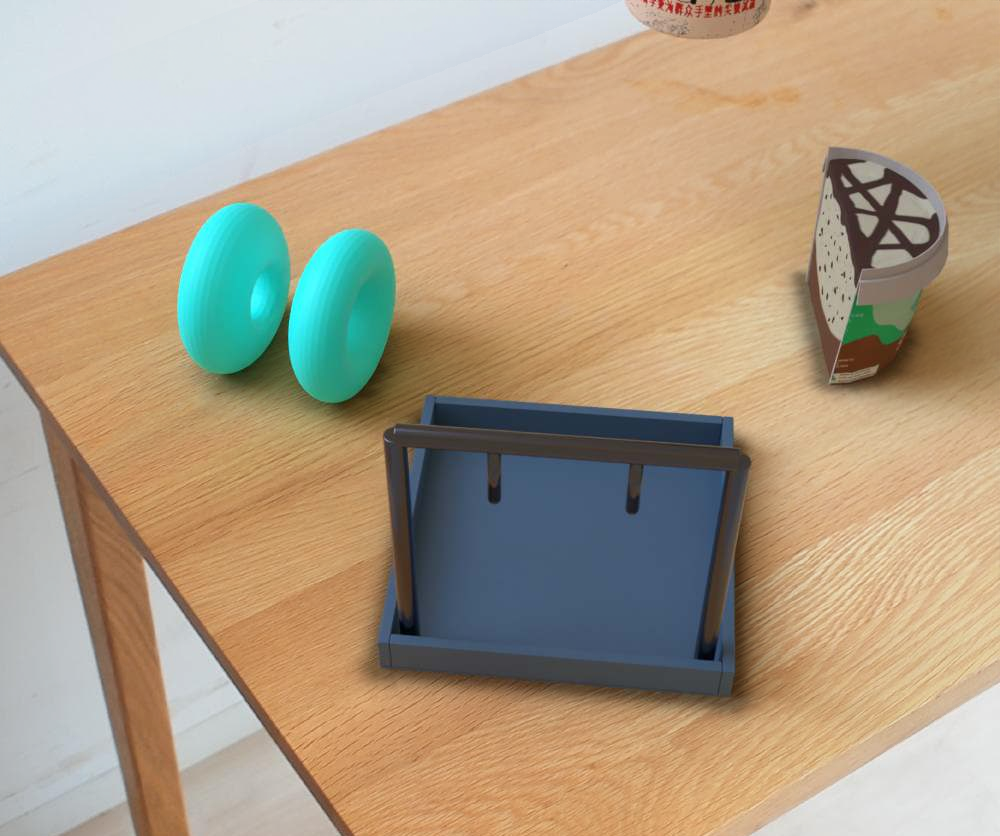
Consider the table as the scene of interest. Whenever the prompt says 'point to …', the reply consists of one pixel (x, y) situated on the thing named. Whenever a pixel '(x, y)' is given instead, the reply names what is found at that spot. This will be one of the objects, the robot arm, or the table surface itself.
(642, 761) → the table surface
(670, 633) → the drip tray
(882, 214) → the food container
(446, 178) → the table surface
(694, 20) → the teacup with lid
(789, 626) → the table surface
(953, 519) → the table surface
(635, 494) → the rack frame
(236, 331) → the donuts
